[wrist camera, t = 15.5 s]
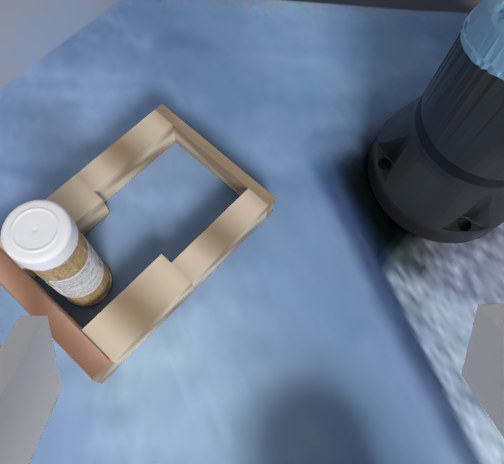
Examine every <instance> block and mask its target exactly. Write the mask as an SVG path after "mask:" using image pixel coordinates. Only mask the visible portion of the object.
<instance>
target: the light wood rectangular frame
mask: <svg viewBox="0 0 504 464" xmlns="http://www.w3.org/2000/svg"><path fill="white" fill-rule="evenodd" d="M175 141H176V142H177V143H178V144H179V145H180V146H182V147H183V148H184V149H185V150H186V151H187V152H189V153H190V154H191V155H192V156H193V157H195V158H196V159H197V160H198V161H199V162H200V163H202V164H203V165H204V166H205V167H206V168H208V169H209V170H210V171H211V172H212V173H213V174H215V175H216V176H217V177H218V178H219V179H221V180H222V181H223V182H224V183H225V184H226V185H228V186H229V187H230V188H231V189H232V190H234V191H235V192H236V193H237V194H238V195H239V196H240V197H239V198H238V199H236V200H235V201H234V202H233V203H232V204H231V205H230V206H229V207H228V208H227V209H226V210H225V211H224V212H223V213H222V214H221V215H220V216H219V217H218V218H217V219H216V220H215V221H214V222H213V223H212V224H211V225H210V226H209V227H208V228H207V229H206V230H204V231H203V232H202V233H201V234H200V235H199V236H198V237H197V238H196V239H195V240H194V241H193V242H192V243H191V244H190V245H189V246H188V247H187V248H186V249H185V250H184V251H183V252H182V253H181V254H180V255H179V256H178V257H177V258H176V259H175V260H173V261H172V262H170V261H169V260H168V259H167V258H166V257H164V256H163V255H162V254H161V255H160V256H159V257H158V258H157V259H156V260H154V261H153V262H152V263H151V264H150V265H149V266H148V267H147V268H146V269H145V270H144V271H143V272H142V273H141V274H140V275H139V276H138V277H137V278H136V279H135V280H133V281H132V282H131V283H130V284H129V285H128V286H127V287H126V288H125V289H124V290H123V291H122V292H121V293H120V294H119V295H118V296H117V297H116V298H115V299H113V300H112V301H111V302H110V303H109V304H108V305H107V306H106V307H105V308H104V309H103V310H102V311H101V312H100V313H99V314H98V315H97V316H96V317H95V318H94V319H92V320H91V321H90V322H89V323H88V324H87V325H86V326H85V327H84V328H83V327H82V326H81V325H80V324H79V323H78V322H77V321H76V320H75V319H74V318H73V317H72V316H71V315H70V314H69V313H68V312H67V311H66V310H65V309H64V308H63V307H62V306H61V305H60V304H59V303H58V302H57V301H56V300H55V299H54V298H53V297H52V296H51V295H50V294H49V293H48V292H47V291H46V290H45V289H44V288H43V287H42V286H41V285H40V284H39V283H38V282H37V281H36V280H35V278H36V277H37V276H38V275H37V274H36V273H35V272H33V271H32V270H30V269H27V268H25V267H23V266H21V265H20V264H19V263H17V262H16V261H15V260H13V259H12V258H11V257H10V256H9V255H8V254H7V253H6V251H5V250H4V248H3V246H2V243H1V236H0V284H1V285H2V286H3V287H4V288H5V289H6V290H7V291H8V292H9V293H10V294H11V295H12V297H13V298H14V299H15V300H16V301H17V302H18V303H19V304H20V305H21V306H22V307H23V308H24V309H25V310H26V311H27V312H28V313H29V314H30V315H31V316H46V315H47V316H48V321H49V326H50V331H51V336H52V338H53V339H54V340H55V341H56V342H57V343H58V344H59V346H60V347H61V348H62V349H63V350H64V351H65V352H66V353H67V354H68V355H69V356H70V357H71V358H72V359H73V360H74V361H75V362H76V363H77V364H78V365H79V366H80V367H81V368H82V370H83V371H84V372H85V373H86V374H87V375H88V376H89V377H90V378H91V379H92V380H93V381H96V382H99V383H103V382H104V381H105V380H106V379H107V378H108V377H109V376H110V375H111V374H112V373H113V372H114V371H115V370H116V369H117V368H118V367H119V366H120V365H121V364H122V363H123V362H124V361H125V360H126V359H127V358H128V357H129V356H130V354H131V353H132V352H133V351H134V350H135V349H136V348H137V347H138V346H139V345H140V344H141V343H142V342H143V341H144V340H145V339H146V338H147V337H148V336H149V335H150V334H151V333H152V332H153V331H154V330H155V329H156V328H157V327H158V326H159V325H160V324H161V323H162V322H163V321H164V320H165V319H166V318H167V317H168V316H169V315H170V314H171V313H172V312H173V311H174V310H175V309H176V308H177V307H178V306H179V305H180V304H181V303H182V302H183V301H184V300H185V299H186V298H187V297H188V296H189V295H190V294H191V293H192V292H193V291H194V290H195V289H196V288H197V287H198V286H199V285H200V284H201V283H202V282H203V281H204V280H205V278H206V277H207V276H208V275H209V274H210V273H211V272H212V271H213V270H214V269H215V268H216V267H217V266H218V265H219V264H220V263H221V262H222V261H223V260H224V259H225V258H226V257H227V256H228V255H229V254H230V253H231V252H232V251H233V250H234V249H235V248H236V247H237V246H238V245H239V244H240V243H241V242H242V241H243V240H244V239H245V238H246V237H247V236H248V235H249V234H250V233H251V232H252V231H253V230H254V229H255V228H256V227H257V226H258V225H259V224H260V223H261V222H262V221H263V220H264V219H265V218H266V217H267V216H268V215H269V214H270V213H271V212H272V210H273V206H274V201H275V197H274V196H273V195H271V194H270V193H269V192H268V191H267V190H265V189H264V188H263V187H262V186H261V185H259V184H258V183H257V182H256V181H255V180H253V179H252V178H251V177H250V176H249V175H247V174H246V173H245V172H244V171H243V170H241V169H240V168H239V167H238V166H236V165H235V164H234V163H233V162H232V161H230V160H229V159H228V158H227V157H226V156H224V155H223V154H222V153H221V152H220V151H218V150H217V149H216V148H215V147H214V146H212V145H211V144H210V143H209V142H208V141H206V140H205V139H204V138H203V137H202V136H200V135H199V134H198V133H197V132H196V131H194V130H193V129H192V128H191V127H190V126H188V125H187V124H186V123H185V122H184V121H182V120H181V119H180V118H179V117H177V116H176V115H175V114H174V113H173V112H171V111H170V110H169V109H168V108H167V107H165V106H164V105H163V104H161V105H160V106H159V107H157V108H156V109H155V110H154V111H152V112H151V113H150V114H149V115H148V116H146V117H145V118H144V119H143V120H141V121H140V122H139V123H138V124H137V125H135V126H134V127H133V128H132V129H130V130H129V131H128V132H127V133H126V134H124V135H123V136H122V137H121V138H119V139H118V140H117V141H116V142H115V143H113V144H112V145H111V146H110V147H108V148H107V149H106V150H105V151H104V152H102V153H101V154H100V155H99V156H98V157H96V158H95V159H94V160H93V161H91V162H90V163H89V164H88V165H87V166H85V167H84V168H83V169H82V170H80V171H79V172H78V173H77V174H76V175H74V176H73V177H72V178H71V179H69V180H68V181H67V182H66V183H65V184H63V185H62V186H61V187H60V188H58V189H57V190H56V191H55V192H54V193H52V194H51V195H50V196H49V197H47V198H46V199H45V200H48V201H52V202H55V203H57V204H59V205H60V206H62V207H63V208H64V209H65V210H66V211H67V212H68V213H69V215H70V216H71V217H72V218H73V220H74V221H75V223H76V225H77V228H78V231H79V232H80V233H81V234H82V235H83V236H84V235H85V234H86V233H87V232H89V231H90V230H91V229H92V228H93V227H94V226H95V225H97V224H98V223H99V222H100V221H101V220H102V219H103V218H105V217H106V216H107V215H108V214H109V213H110V212H109V210H108V208H107V207H106V205H105V203H104V202H106V201H107V200H108V199H109V198H110V197H111V196H113V195H114V194H115V193H116V192H117V191H118V190H119V189H121V188H122V187H123V186H124V185H125V184H126V183H128V182H129V181H130V180H131V179H132V178H133V177H135V176H136V175H137V174H138V173H139V172H140V171H142V170H143V169H144V168H145V167H146V166H147V165H148V164H150V163H151V162H152V161H153V160H154V159H155V158H157V157H158V156H159V155H160V154H161V153H162V152H164V151H165V150H166V149H167V148H168V147H169V146H170V145H172V144H173V143H174V142H175Z"/></svg>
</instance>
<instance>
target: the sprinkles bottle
mask: <svg viewBox="0 0 504 464" xmlns="http://www.w3.org/2000/svg"><path fill="white" fill-rule="evenodd" d="M1 243H2V246H3V248H4V250H5V251H6V253H7V254H8V255H9V256H10V257H11V258H12V259H13V260H15V261H16V262H17V263H19V264H20V265H21V266H23V267H25V268H27V269H30V270H32V271H33V272H35V273H36V274H37V275H38V276H39V277H41V278H42V279H43V280H44V281H45V282H46V283H47V284H48V285H50V286H51V287H52V288H54V289H55V290H56V291H57V292H59V293H60V294H62V295H64V296H65V297H66V299H67V300H68V301H69V302H71V303H73V304H75V305H78V306H92V305H94V304H97V303H99V302H100V301H102V300H103V299H104V298H105V297H106V296H107V295H108V293H109V292H110V289H111V286H112V275H111V272H110V270H109V268H108V266H106V265H105V263H103V262H102V260H101V258H100V257H99V255H98V254H97V253H96V251H95V250H94V249H93V247H92V246H91V245H90V244H89V242H88V241H87V240H86V238H85V237H84V236H83V235H82V234H81V233H80V232H79V231H78V228H77V225H76V223H75V221H74V220H73V218H72V217H71V216H70V215H69V213H68V212H67V211H66V210H65V209H64V208H63V207H62V206H60V205H59V204H57V203H55V202H52V201H48V200H33V201H29V202H26V203H23V204H21V205H20V206H18V207H16V208H15V209H14V210H13V211H12V212H11V213H10V214H9V215H8V216H7V218H6V219H5V221H4V223H3V225H2V229H1Z"/></svg>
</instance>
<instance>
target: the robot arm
mask: <svg viewBox="0 0 504 464" xmlns="http://www.w3.org/2000/svg"><path fill="white" fill-rule="evenodd" d="M367 170H368V178H369V182H370V186H371V189H372V191H373V194H374V196H375V198H376V199H377V201H378V203H379V204H380V206H381V207H382V208H383V210H384V211H385V212H386V213H387V214H388V215H389V216H390V217H391V218H392V219H393V220H394V221H395V222H396V223H397V224H399V225H400V226H401V227H403V228H404V229H406V230H407V231H409V232H411V233H413V234H415V235H417V236H420V237H422V238H425V239H428V240H432V241H436V242H442V243H461V242H467V241H471V240H474V239H477V238H480V237H482V236H484V235H485V234H487V233H489V232H490V231H492V230H493V229H494V228H496V227H497V226H499V225H500V224H501V223H503V222H504V0H481V2H480V3H479V4H478V5H477V6H476V7H475V8H474V9H473V10H472V11H471V12H470V13H469V15H468V16H467V18H466V19H465V21H464V23H463V28H462V30H461V33H460V34H459V36H458V38H457V39H456V41H455V43H454V44H453V46H452V48H451V49H450V51H449V52H448V54H447V56H446V57H445V59H444V61H443V62H442V64H441V66H440V67H439V69H438V70H437V72H436V74H435V75H434V77H433V78H432V80H431V82H430V83H429V85H428V86H427V88H426V90H425V92H424V93H423V95H422V96H421V97H419V98H418V99H416V100H415V101H414V102H412V103H411V104H409V105H408V106H406V107H405V108H403V109H402V110H400V111H399V112H397V113H396V114H395V115H393V116H392V117H391V118H390V119H389V120H388V121H387V122H386V123H385V124H384V126H383V127H382V128H381V130H380V132H379V133H378V135H377V137H376V139H375V141H374V142H373V144H372V147H371V149H370V152H369V156H368V164H367ZM462 376H463V377H464V379H465V380H466V382H467V383H468V385H469V386H470V388H471V389H472V391H473V392H474V394H475V395H476V397H477V398H478V400H479V401H480V403H481V404H482V406H483V407H484V409H485V410H486V412H487V413H488V415H489V416H490V418H491V419H492V421H493V422H494V424H495V425H496V427H497V428H498V430H499V431H500V433H501V434H502V436H503V437H504V305H503V304H478V308H477V312H476V316H475V320H474V324H473V328H472V333H471V337H470V341H469V345H468V349H467V354H466V358H465V362H464V366H463V370H462ZM61 389H62V385H61V380H60V375H59V370H58V365H57V360H56V355H55V350H54V345H53V340H52V336H51V331H50V326H49V321H48V316H47V315H46V316H21V317H20V318H19V320H18V321H17V323H16V324H15V326H14V327H13V329H12V330H11V332H10V333H9V335H8V336H7V338H6V339H5V341H4V342H3V344H2V345H1V347H0V464H29V463H30V461H31V458H32V456H33V454H34V452H35V449H36V447H37V445H38V442H39V440H40V438H41V435H42V433H43V431H44V428H45V426H46V424H47V421H48V419H49V417H50V414H51V412H52V410H53V408H54V405H55V403H56V401H57V398H58V396H59V394H60V391H61Z"/></svg>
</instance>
